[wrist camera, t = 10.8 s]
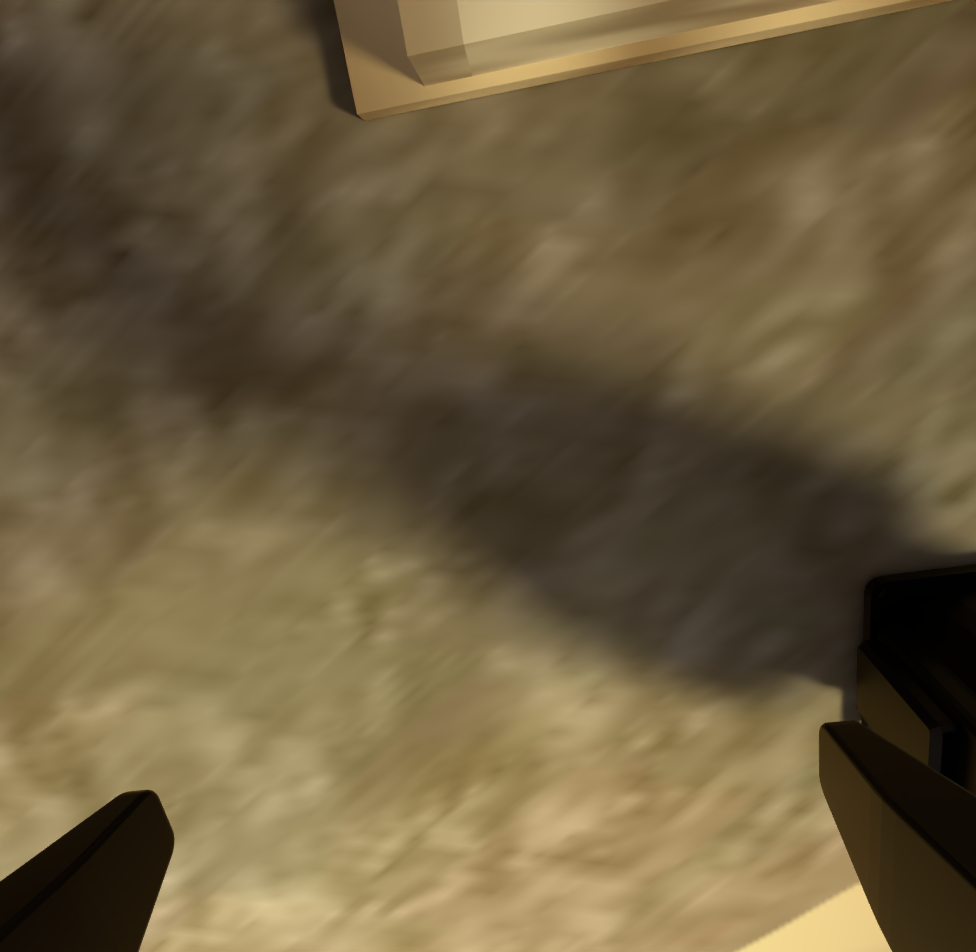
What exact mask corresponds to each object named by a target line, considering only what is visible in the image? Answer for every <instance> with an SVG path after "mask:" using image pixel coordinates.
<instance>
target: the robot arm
mask: <svg viewBox="0 0 976 952" xmlns="http://www.w3.org/2000/svg"><path fill="white" fill-rule="evenodd" d="M886 589H889V592H888V593H887V594H886V595H885V596H882V597H879V596H880V593H881V592H882V591H883V590H886ZM856 707H857V710H858V711H859V713H860V714H861V715H862V724H861V723H859V722H856V721H850V720H849V721H839V722H829V723H824V724H823V725H822V726H821V727H820V731H819V777H820V783H821V787H822V790H823V793H824V796H825V798H826V801H827V803H828V806H829V808H830V810H831V813H832V815H833V818H834V820H835V822H836V825H837V827H838V830H839V832H840V835H841V837H842V839H843V842H844V844H845V847H846V849H847V851H848V854H849V856H850V859H851V861H852V863H853V866H854V868H855V871H856V873H857V875H858V878H859V880H860V883H861V885H862V887H863V890H864V892H865V894H866V897H867V899H868V902H869V904H870V906H871V909H872V911H873V913H874V915H875V918H876V920H877V922H878V924H879V926H880V928H881V930H882V932H883V934H884V936H885V938H886V940H887V942H888V944H889V946H890V948H891V950H892V952H976V565H968V566H960V567H951V568H943V569H934V570H926V571H918V572H909V573H901V574H892V575H884V576H879V577H875V578H874V579H872V580H871V581H869V583H868V584H867V585H866V587H865V591H864V633H863V641H861V643H860V645H859V646H858V648H857V699H856ZM173 849H174V833H173V830H172V827H171V825H170V823H169V820H168V818H167V816H166V813H165V811H164V808H163V806H162V804H161V801H160V799H159V797H158V795H157V794H156V793H155V792H154V791H152V790H140V791H130V792H125V793H122V794H120V795H119V796H117V797H116V798H114V799H113V800H112V801H110V802H109V803H107V804H106V805H105V806H103V807H102V808H101V809H99V810H98V811H96V812H95V813H94V814H92V815H91V816H90V817H88V818H87V819H85V820H84V821H83V822H81V823H80V824H79V825H77V826H76V827H74V828H73V829H72V830H70V831H69V832H68V833H66V834H65V835H63V836H62V837H61V838H59V839H58V840H57V841H55V842H54V843H52V844H51V845H50V846H48V847H47V848H46V849H44V850H43V851H41V852H40V853H39V854H37V855H36V856H35V857H33V858H32V859H30V860H29V861H28V862H26V863H25V864H24V865H22V866H21V867H19V868H18V869H17V870H15V871H14V872H13V873H11V874H10V875H9V876H7V877H6V878H4V879H3V880H2V881H0V952H139V949H140V946H141V943H142V940H143V937H144V934H145V931H146V929H147V926H148V923H149V920H150V917H151V914H152V911H153V908H154V905H155V903H156V900H157V897H158V894H159V891H160V888H161V885H162V882H163V879H164V877H165V874H166V871H167V868H168V865H169V862H170V859H171V856H172V853H173Z"/></svg>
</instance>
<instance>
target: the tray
mask: <svg viewBox="0 0 976 952" xmlns="http://www.w3.org/2000/svg"><path fill="white" fill-rule="evenodd" d="M948 1H953V0H334V5H335V10H336V14H337V19H338V24H339V29H340V34H341V39H342V43H343V48H344V53H345V58H346V63H347V68H348V72H349V77H350V82H351V87H352V92H353V97H354V101H355V106H356V111H357V115H359V116H360V117H361V118H362V119H363V120H364V121H365V120H370V119H375V118H380V117H385V116H390V115H395V114H400V113H405V112H409V111H414V110H419V109H424V108H429V107H434V106H439V105H444V104H449V103H454V102H458V101H463V100H468V99H473V98H478V97H483V96H488V95H493V94H498V93H502V92H507V91H512V90H517V89H522V88H527V87H532V86H537V85H542V84H547V83H551V82H556V81H561V80H566V79H571V78H576V77H581V76H586V75H591V74H595V73H600V72H605V71H610V70H615V69H620V68H625V67H630V66H635V65H639V64H644V63H649V62H654V61H659V60H664V59H669V58H674V57H679V56H684V55H688V54H693V53H698V52H703V51H708V50H713V49H718V48H723V47H728V46H732V45H737V44H742V43H747V42H752V41H757V40H762V39H767V38H772V37H776V36H781V35H786V34H791V33H796V32H801V31H806V30H811V29H816V28H821V27H825V26H830V25H835V24H840V23H845V22H850V21H855V20H860V19H865V18H869V17H874V16H879V15H884V14H889V13H894V12H899V11H904V10H909V9H914V8H918V7H923V6H928V5H933V4H938V3H943V2H948Z"/></svg>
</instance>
